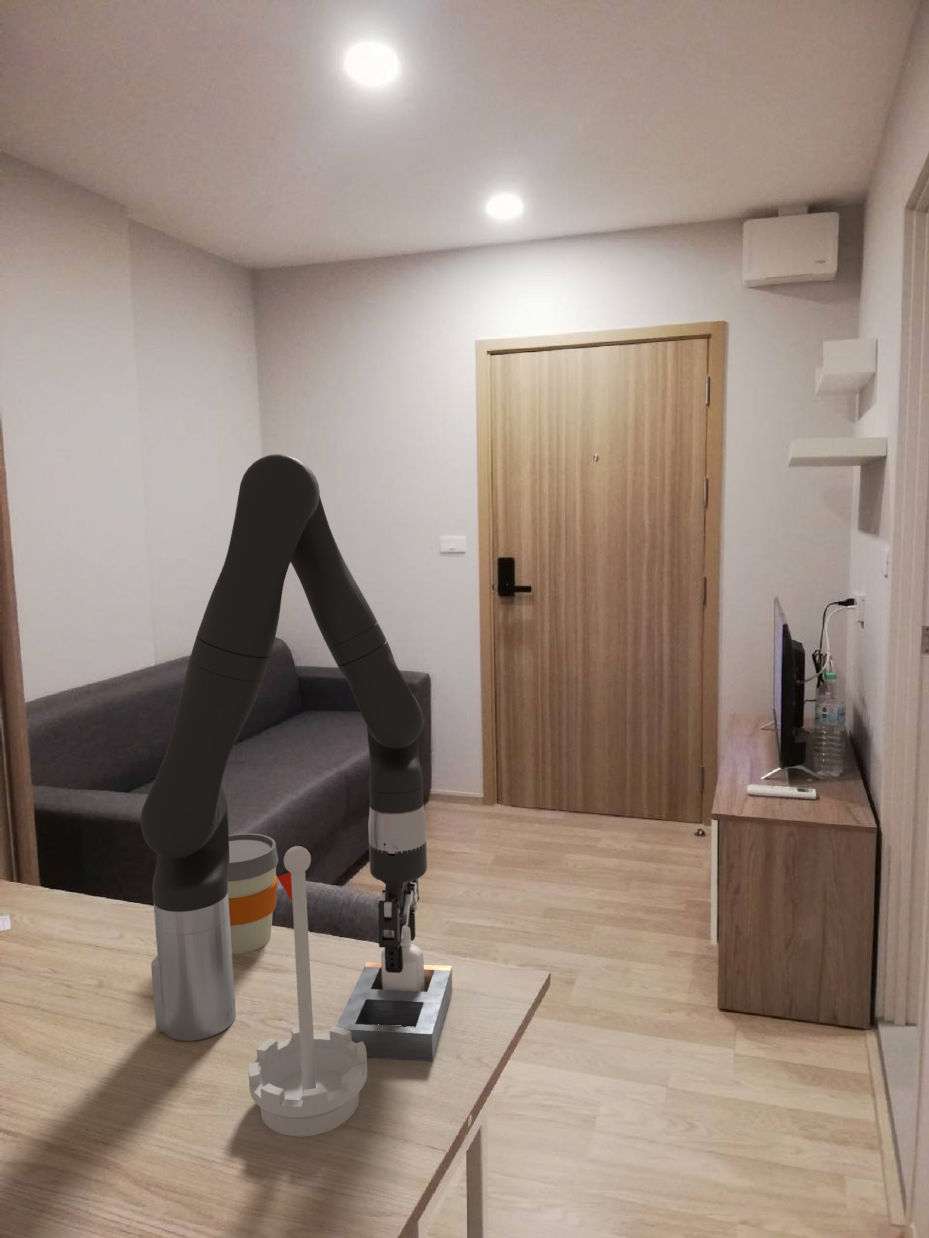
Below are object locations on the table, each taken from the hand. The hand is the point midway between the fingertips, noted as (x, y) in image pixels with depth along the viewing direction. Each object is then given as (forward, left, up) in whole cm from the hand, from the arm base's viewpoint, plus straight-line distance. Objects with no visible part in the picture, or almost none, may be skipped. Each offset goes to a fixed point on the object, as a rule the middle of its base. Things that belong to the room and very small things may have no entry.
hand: (401, 954), depth 119 cm
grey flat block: (0, -4, -7) cm, 8 cm away
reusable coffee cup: (-29, +16, -7) cm, 34 cm away
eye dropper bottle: (0, 0, -7) cm, 7 cm away
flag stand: (-6, -21, -7) cm, 23 cm away
